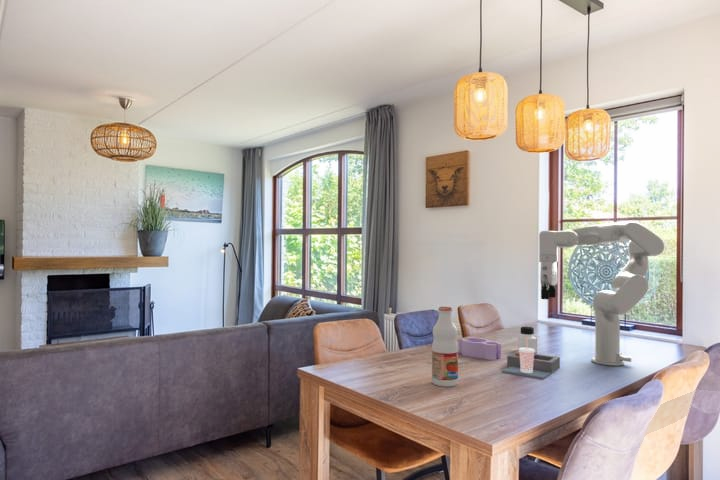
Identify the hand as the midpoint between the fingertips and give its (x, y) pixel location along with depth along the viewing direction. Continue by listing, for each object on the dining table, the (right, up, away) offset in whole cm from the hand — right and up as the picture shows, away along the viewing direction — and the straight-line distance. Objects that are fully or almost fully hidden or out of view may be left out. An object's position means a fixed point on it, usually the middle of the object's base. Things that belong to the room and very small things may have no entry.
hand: (548, 298), depth 205 cm
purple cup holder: (-26, -29, +14) cm, 41 cm away
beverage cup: (-16, -27, -17) cm, 36 cm away
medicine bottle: (-1, -29, +23) cm, 37 cm away
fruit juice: (-51, -28, -32) cm, 66 cm away
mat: (-16, -28, -17) cm, 37 cm away
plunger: (-14, -27, -4) cm, 31 cm away
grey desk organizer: (-9, -28, -7) cm, 31 cm away
